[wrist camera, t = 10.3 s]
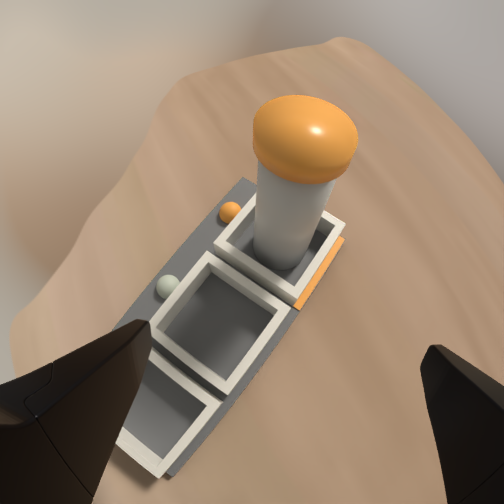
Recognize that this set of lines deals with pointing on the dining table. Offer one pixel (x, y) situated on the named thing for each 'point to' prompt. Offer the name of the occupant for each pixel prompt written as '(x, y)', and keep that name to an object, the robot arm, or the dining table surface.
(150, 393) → the grey compartment tray
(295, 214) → the plug
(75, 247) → the dining table surface
